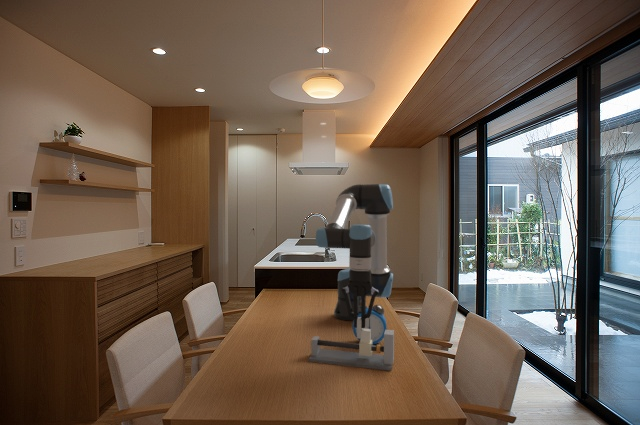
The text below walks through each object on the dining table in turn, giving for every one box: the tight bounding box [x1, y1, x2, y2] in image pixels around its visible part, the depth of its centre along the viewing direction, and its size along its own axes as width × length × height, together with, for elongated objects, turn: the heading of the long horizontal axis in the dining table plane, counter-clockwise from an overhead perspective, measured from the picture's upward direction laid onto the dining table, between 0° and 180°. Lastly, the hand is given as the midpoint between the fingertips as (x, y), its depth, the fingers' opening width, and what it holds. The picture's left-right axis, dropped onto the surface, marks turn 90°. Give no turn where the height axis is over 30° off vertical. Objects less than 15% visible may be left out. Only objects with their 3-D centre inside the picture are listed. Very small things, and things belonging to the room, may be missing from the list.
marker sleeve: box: [358, 328, 374, 356], centre depth 129 cm, size 4×4×8 cm
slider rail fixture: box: [308, 329, 395, 372], centre depth 130 cm, size 10×28×11 cm, turn 75°
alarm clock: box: [352, 304, 388, 345], centre depth 147 cm, size 13×6×15 cm, turn 81°
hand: (359, 336), depth 129 cm, fingers closed
